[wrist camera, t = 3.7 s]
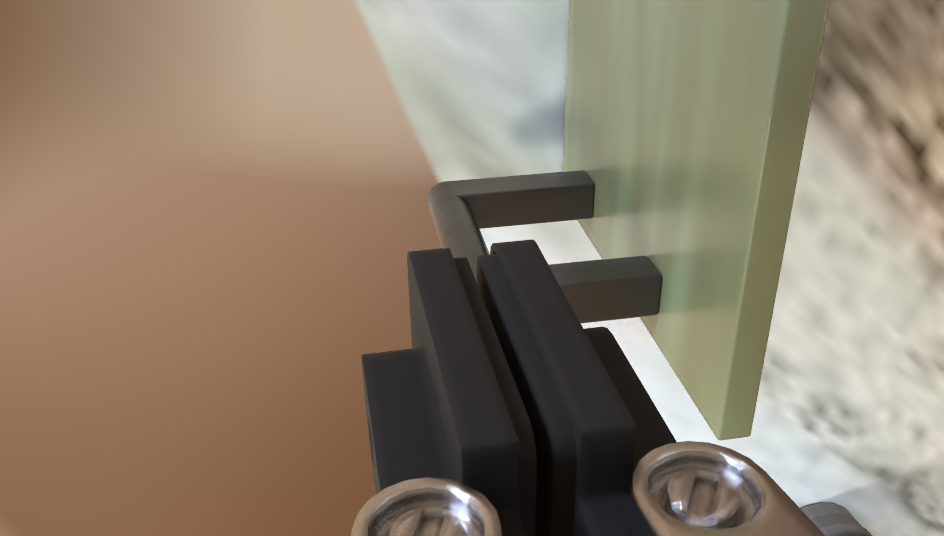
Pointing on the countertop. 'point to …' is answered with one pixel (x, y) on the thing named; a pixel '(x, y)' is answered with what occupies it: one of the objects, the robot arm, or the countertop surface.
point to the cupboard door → (671, 179)
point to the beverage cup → (834, 520)
